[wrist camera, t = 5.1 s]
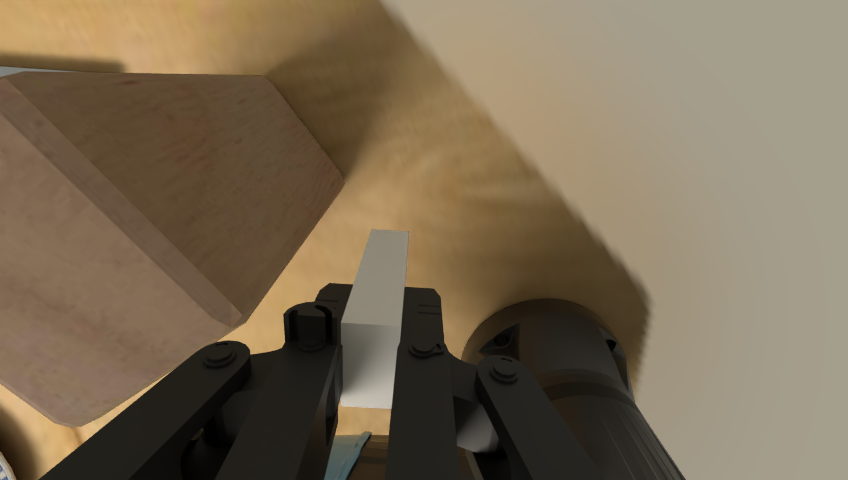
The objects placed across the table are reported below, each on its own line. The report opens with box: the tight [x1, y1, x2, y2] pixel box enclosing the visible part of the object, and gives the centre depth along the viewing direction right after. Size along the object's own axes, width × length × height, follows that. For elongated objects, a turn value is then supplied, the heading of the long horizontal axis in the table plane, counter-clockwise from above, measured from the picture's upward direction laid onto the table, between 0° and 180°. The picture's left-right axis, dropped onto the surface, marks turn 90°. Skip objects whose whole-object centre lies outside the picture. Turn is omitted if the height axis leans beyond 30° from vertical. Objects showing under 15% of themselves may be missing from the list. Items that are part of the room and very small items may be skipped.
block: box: [0, 71, 345, 428], centre depth 22 cm, size 10×10×20 cm
